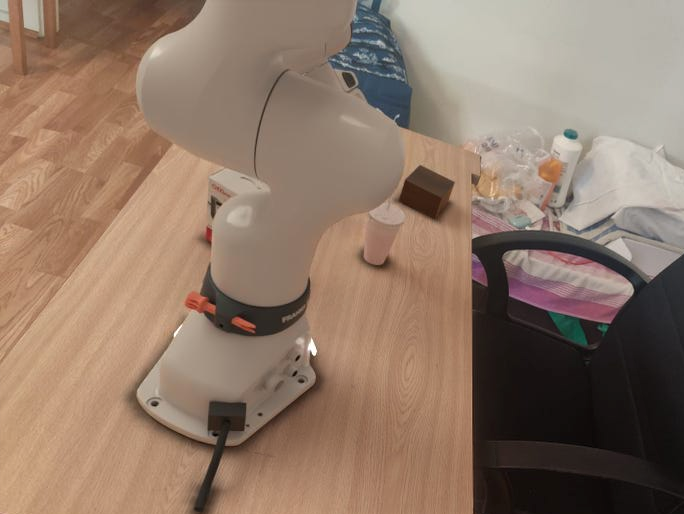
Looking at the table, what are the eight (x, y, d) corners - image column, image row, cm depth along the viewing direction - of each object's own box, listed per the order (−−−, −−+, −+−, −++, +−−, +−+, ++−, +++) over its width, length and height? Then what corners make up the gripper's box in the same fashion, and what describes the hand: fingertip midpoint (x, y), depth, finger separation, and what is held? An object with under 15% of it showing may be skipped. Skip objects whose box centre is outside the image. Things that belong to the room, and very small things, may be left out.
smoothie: (395, 254, 108) (415, 187, 98) (388, 274, 103) (408, 206, 94) (360, 242, 107) (377, 173, 97) (351, 262, 102) (368, 192, 93)
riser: (434, 219, 120) (441, 197, 116) (398, 201, 120) (404, 179, 116) (447, 202, 126) (455, 182, 122) (413, 185, 125) (419, 164, 122)
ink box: (203, 239, 94) (205, 174, 86) (225, 227, 97) (229, 163, 89) (249, 267, 93) (255, 203, 85) (270, 254, 97) (277, 192, 89)
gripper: (291, 108, 80) (344, 202, 87) (359, 70, 95) (399, 152, 102) (259, 124, 83) (312, 213, 90) (329, 84, 98) (370, 163, 105)
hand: (359, 180), depth 96 cm, fingers open, 8 cm apart
